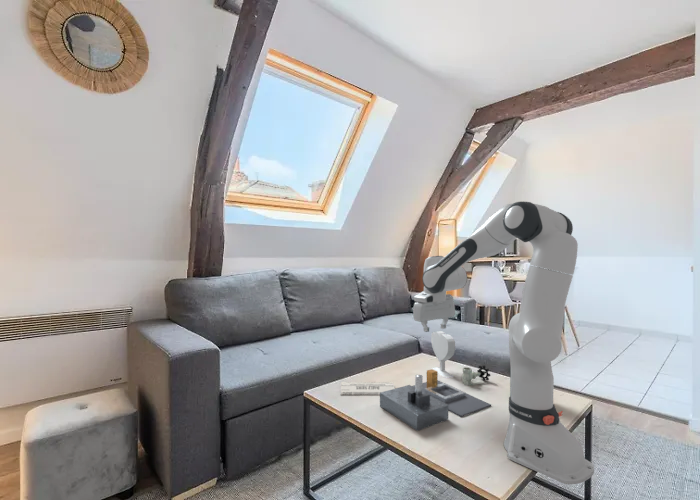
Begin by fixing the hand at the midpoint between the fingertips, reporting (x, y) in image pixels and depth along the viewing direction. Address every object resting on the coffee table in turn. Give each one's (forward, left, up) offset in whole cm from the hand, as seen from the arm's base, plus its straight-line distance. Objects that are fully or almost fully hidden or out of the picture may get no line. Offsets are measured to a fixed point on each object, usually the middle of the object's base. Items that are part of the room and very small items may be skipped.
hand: (435, 330), depth 147 cm
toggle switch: (-11, +21, -24) cm, 34 cm away
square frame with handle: (-5, +1, -24) cm, 24 cm away
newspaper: (+15, +23, -25) cm, 37 cm away
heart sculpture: (+12, -17, -25) cm, 32 cm away
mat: (-8, +1, -24) cm, 25 cm away
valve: (-3, -20, -25) cm, 32 cm away
